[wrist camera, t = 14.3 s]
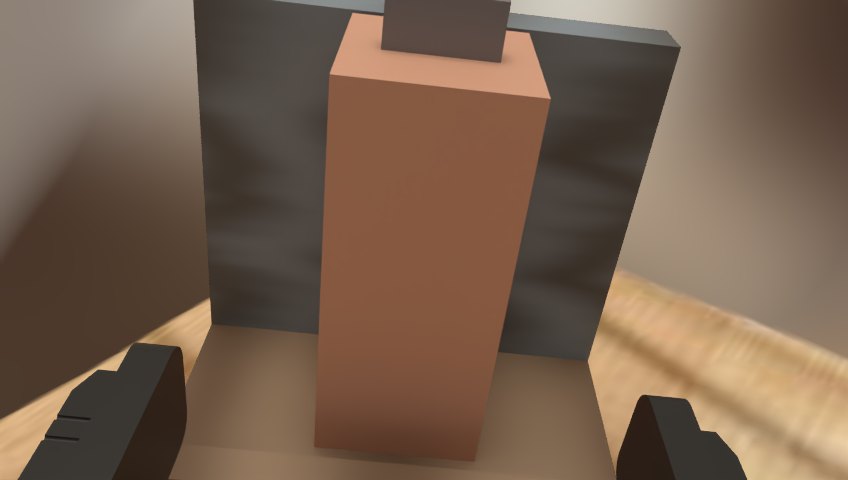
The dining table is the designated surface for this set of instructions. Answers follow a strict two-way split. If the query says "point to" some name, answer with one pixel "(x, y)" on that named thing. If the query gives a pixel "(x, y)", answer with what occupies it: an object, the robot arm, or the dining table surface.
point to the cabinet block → (422, 222)
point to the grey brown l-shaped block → (303, 234)
